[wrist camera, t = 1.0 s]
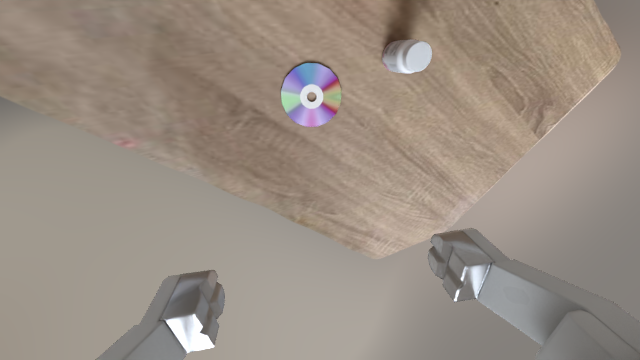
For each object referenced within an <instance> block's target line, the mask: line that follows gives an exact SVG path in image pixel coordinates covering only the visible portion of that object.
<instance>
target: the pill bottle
mask: <svg viewBox="0 0 640 360" xmlns="http://www.w3.org/2000/svg"><path fill="white" fill-rule="evenodd" d="M431 57H432V50H431V47H430V45H429V44H428V43H426V42H424V41H419V40H416V39H409V40H399V41H394V42H391V43H390V44H389V45H388V46H387V47H386V48H385V50H384V52H383V56H382V61H383V64H384V66H385V68H386V69H388V70H390V71H394V72H400V73H413V72H419V71H421V70H423V69H425V68H426V67H427V65H428V64H429V62H430V60H431Z"/></svg>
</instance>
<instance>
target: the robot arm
mask: <svg viewBox="0 0 640 360" xmlns="http://www.w3.org/2000/svg"><path fill="white" fill-rule="evenodd" d="M431 243H432V244H433V247H432V248H431V249H430V250H429V253H428V260H429V265H430V267H431V269H432V271H433V272H434V274H435V275H436V276H438V277H440V278H441V279H443V287H444V288H445V290H446V291H447V292H448V294H449V295H450V297H451V298H452V299H453V301H454V302H458V301H465V300H471V299H477V300H478V301H479V302H481V303H482V304H484V305H485V306H487V307H488V308H489V309H491V310H492V311H494V312H495V313H496V314H498V315H499V316H501V317H502V318H504V319H505V320H506V321H508V322H509V323H511V324H512V325H514V326H515V327H516V328H518V329H519V330H521V331H522V332H523V333H525V334H526V335H528V336H529V337H531V338H532V339H533V340H535V341H537V342H538V343H539V344H541V345H542V347H541V348H540V350H539V351H538V352H537V354H536V355H535V360H640V322H639V321H638V320H637V319H635V318H634V317H633V316H631V315H630V314H629V313H627V312H626V311H625V310H623V309H622V308H621V307H619V306H618V305H617V304H615V303H614V302H612V301H610V300H607V299H605V298H603V297H600V296H598V295H596V294H594V293H591V292H589V291H587V290H584V289H582V288H579V287H577V286H575V285H573V284H570V283H568V282H566V281H563V280H561V279H559V278H557V277H554V276H552V275H549V274H547V273H545V272H542V271H540V270H538V269H536V268H533V267H531V266H529V265H526V264H524V263H522V262H519V261H517V260H510V259H509V258H507V256H505V255H504V254H503V253H502V252H501V251H500V250H499V249H498V248H496V247H495V246H494V245H493V244H492V243H491V242H490V241H489V240H487V239H486V238H485V237H484V236H483V235H482V234H481V233H479V232H478V231H477V230H476V229H473V228H469V229H463V230H457V231H450V232H445V233H439V234H434V235H433V236H432V238H431ZM217 278H218V276H217V273H216V271H215V270H209V271H201V272H194V273H186V274H180V275H173V276H168V277H167V278H166V279H165V280H164V281H163V282H162V284H161V286H160V288H159V290H158V292H157V293H156V296H155V297H154V299H153V301H152V303H151V304H150V306H149V308H148V310H147V312H146V313H145V316H144V317H143V319H142V321H141V323H140V324H139V325H135V326H133V327H132V328H131V329H130V330H129V331H128V332H127V333H125V334H124V335H123V336H122V337H121V338H120V339H119V340H117V341H116V342H115V343H114V344H113V345H112V346H111V347H109V348H108V349H107V350H106V351H105V352H104V353H103V354H102V355H100V356H99V357H98V358H97V359H96V360H183V359H184V358H185V357H186V355H187V353H188V352H193V351H198V350H202V349H207V348H212V347H214V345H215V340H216V337H217V333H218V328H219V324H218V322H217V320H216V319H217V318H218V317H219V316H220V315H221V314H222V312H223V308H224V299H225V295H224V289H223V287H222V285H221V284H219V283H218V282H217Z"/></svg>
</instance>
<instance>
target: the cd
mask: <svg viewBox="0 0 640 360" xmlns="http://www.w3.org/2000/svg"><path fill="white" fill-rule="evenodd" d="M309 92H314V93H315V94H316V96H317V98H316V100H315V101H314V102H310V101H308V99H307V95H308V93H309ZM281 98H282V105H283V107H284V109H285V111H286V113H287V115H288V116H289V117H290V118H291V119H292V120H293V121H294V122H296V123H298V124H301V125H303V126H306V127H312V126H319V125H322V124H324V123H326V122H328V121H329V120H330V119H331V118H332V117H333V116H334V115H335V114H336V112H337V110H338V108H339V105H340V103H341V87H340V84H339V81H338V78H337V77H336V76H335V75H334V74H333V72H332V71H331V70H330V69H329V68H327V67H325V66H323V65H321V64H319V63H305V64H302V65H300V66H298V67H296V68H294V69H293V70H292V71H291V72H290V73H289V74H288V76H287V77H286V78H285V80H284V83H283V86H282V89H281Z"/></svg>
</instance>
